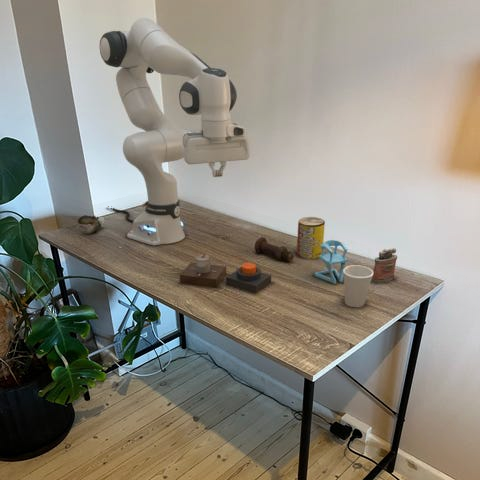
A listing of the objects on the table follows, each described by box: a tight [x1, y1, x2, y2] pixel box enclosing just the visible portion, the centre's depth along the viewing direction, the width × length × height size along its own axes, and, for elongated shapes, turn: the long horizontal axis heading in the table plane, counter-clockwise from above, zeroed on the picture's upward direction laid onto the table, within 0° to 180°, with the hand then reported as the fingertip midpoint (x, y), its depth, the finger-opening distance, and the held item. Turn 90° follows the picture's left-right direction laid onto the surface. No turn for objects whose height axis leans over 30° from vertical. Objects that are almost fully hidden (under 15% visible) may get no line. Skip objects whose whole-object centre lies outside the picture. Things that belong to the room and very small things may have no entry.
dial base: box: [179, 262, 227, 289], centre depth 157 cm, size 12×10×3 cm
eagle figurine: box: [77, 214, 106, 235], centre depth 196 cm, size 8×7×9 cm
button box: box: [225, 266, 272, 294], centre depth 154 cm, size 11×9×4 cm
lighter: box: [371, 247, 398, 284], centre depth 154 cm, size 8×3×10 cm, turn 117°
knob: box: [195, 253, 211, 273], centre depth 155 cm, size 4×4×5 cm
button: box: [241, 262, 257, 274], centre depth 152 cm, size 4×4×2 cm
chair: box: [314, 239, 349, 285], centre depth 155 cm, size 8×8×12 cm
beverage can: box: [296, 216, 326, 260], centre depth 172 cm, size 9×9×12 cm
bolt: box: [254, 236, 295, 262], centre depth 172 cm, size 6×5×15 cm
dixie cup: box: [343, 264, 374, 308], centre depth 141 cm, size 8×8×10 cm
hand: (217, 176), depth 155 cm, fingers closed
